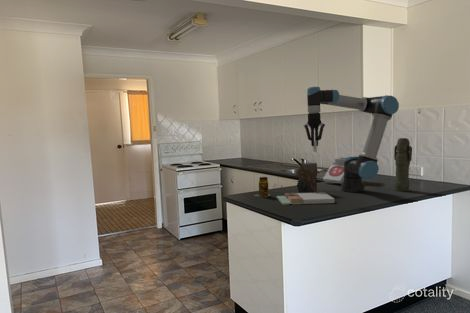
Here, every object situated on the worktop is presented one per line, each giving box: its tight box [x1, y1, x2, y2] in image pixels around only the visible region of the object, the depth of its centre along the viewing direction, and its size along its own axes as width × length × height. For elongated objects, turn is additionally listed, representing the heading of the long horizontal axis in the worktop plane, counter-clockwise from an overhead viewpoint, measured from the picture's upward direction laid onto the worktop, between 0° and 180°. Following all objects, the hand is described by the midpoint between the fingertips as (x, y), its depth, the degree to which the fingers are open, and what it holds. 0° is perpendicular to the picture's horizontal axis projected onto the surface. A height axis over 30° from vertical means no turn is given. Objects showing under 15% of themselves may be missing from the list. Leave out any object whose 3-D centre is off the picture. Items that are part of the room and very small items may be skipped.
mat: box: [276, 195, 305, 206], centre depth 210 cm, size 12×19×1 cm, turn 4°
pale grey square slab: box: [296, 191, 336, 205], centre depth 211 cm, size 18×18×2 cm
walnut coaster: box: [284, 192, 299, 199], centre depth 214 cm, size 7×7×2 cm
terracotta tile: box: [288, 196, 303, 202], centre depth 205 cm, size 7×7×2 cm
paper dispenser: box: [322, 156, 345, 185], centre depth 268 cm, size 19×30×18 cm, turn 131°
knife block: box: [296, 161, 318, 193], centre depth 231 cm, size 13×13×20 cm
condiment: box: [254, 176, 271, 198], centre depth 225 cm, size 7×8×12 cm
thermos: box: [393, 137, 413, 192], centre depth 234 cm, size 9×12×35 cm
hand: (314, 151), depth 215 cm, fingers closed
